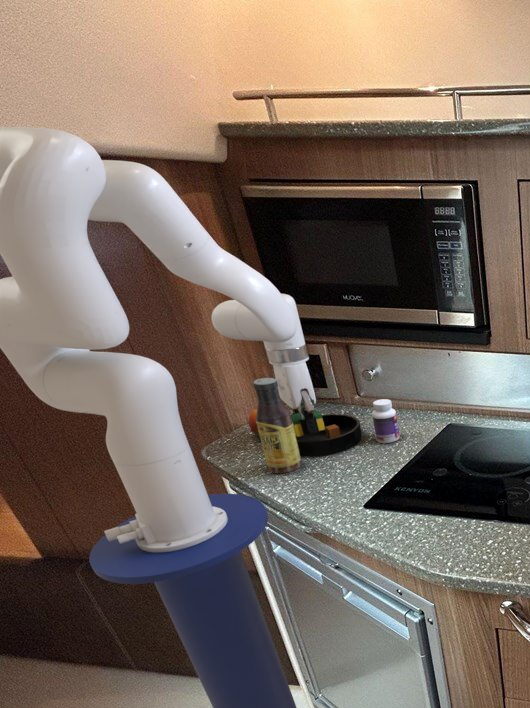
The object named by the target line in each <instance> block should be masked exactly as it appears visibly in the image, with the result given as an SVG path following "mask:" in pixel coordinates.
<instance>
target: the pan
mask: <svg viewBox="0 0 530 708" xmlns="http://www.w3.org/2000/svg"><path fill="white" fill-rule="evenodd" d="M322 419H323V423H324V427H327V426H330V425H334V424H335V425H337V426H338V427H339V430H340V434H341V436H337V437H333V438H329V437H328V436H327V434H326V430H321V431H319V432H318V433H314V434H310V435H307V436H305V435H303V436H299V437H297V436H296V440H297V444H298V449H299V453H300V457H309V458H311V457H324V456H331V455H334V454H339V453H342V452H345V451H347V450H350V449H352V448H354V447H356V446H357V445H358V444H359V443H360V442H361V441H362V439H363V434H362V427H361V422H360V419H358V418H357V417H356V416H354V415H349V414H345V413H344V414H343V413H342V414H341V413H328V414H327V413H326V414H322Z"/></svg>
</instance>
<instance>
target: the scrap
mask: <svg viewBox="0 0 530 708" xmlns="http://www.w3.org/2000/svg"><path fill="white" fill-rule="evenodd" d="M325 430H326V434H327V436H328V437H329V438H333V437H337V436H341V434H340V430H339V427H338V426H337V425H335V424H334V425H330V426H327V427H325Z"/></svg>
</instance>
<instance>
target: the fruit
mask: <svg viewBox="0 0 530 708" xmlns="http://www.w3.org/2000/svg"><path fill="white" fill-rule="evenodd" d="M256 416H257V409H253V410H252V411H251V412H250V414H249V416H248V427H249V428H250V431H251V432H252V433H253V434H254V436H255V437H259V438H260V435H259V431H258V428H257V423H256Z"/></svg>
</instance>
